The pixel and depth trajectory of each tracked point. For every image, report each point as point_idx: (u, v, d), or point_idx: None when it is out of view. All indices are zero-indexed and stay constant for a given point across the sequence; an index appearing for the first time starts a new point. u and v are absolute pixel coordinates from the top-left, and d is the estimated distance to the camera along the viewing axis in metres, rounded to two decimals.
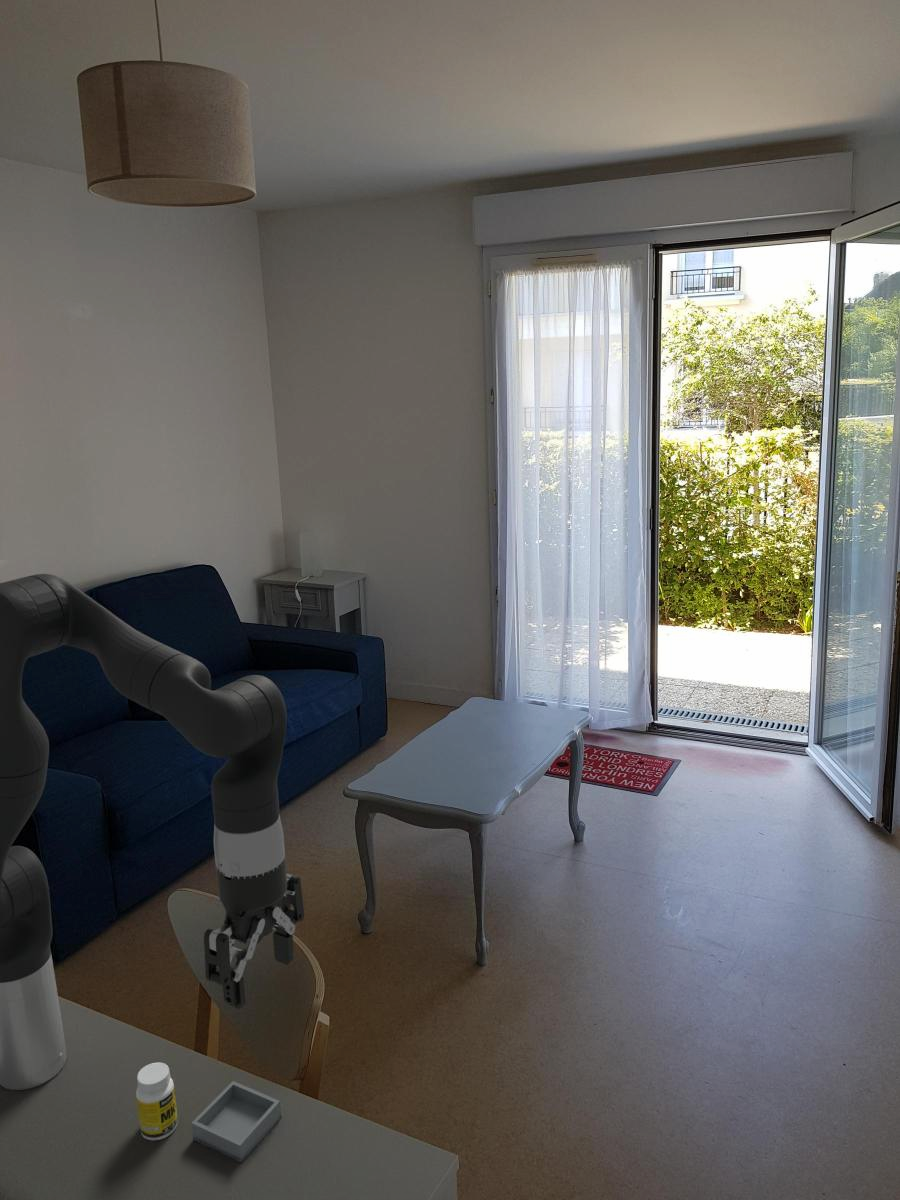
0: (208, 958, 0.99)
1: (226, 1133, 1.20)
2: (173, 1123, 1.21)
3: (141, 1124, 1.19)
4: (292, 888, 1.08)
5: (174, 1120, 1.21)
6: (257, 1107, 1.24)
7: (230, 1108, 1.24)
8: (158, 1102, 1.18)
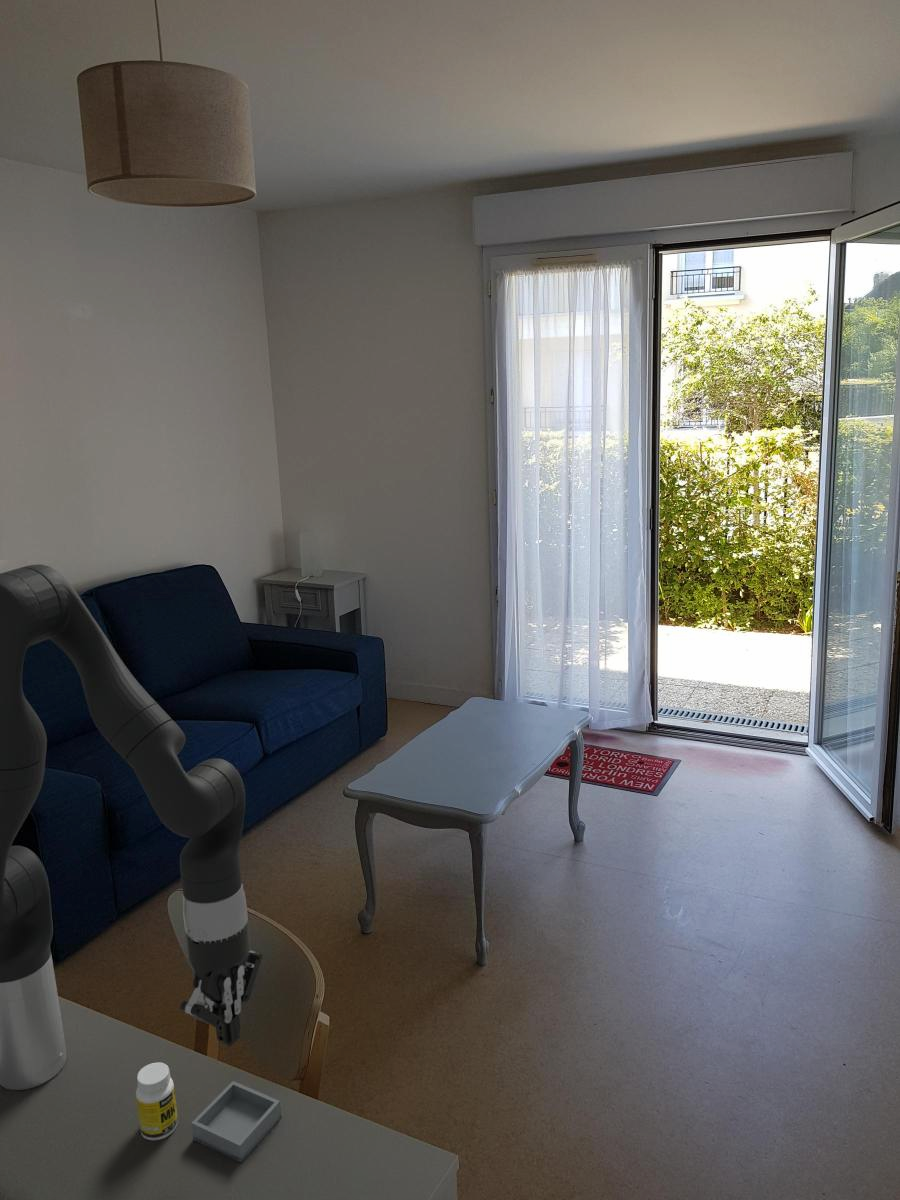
0: (194, 1017, 1.13)
1: (226, 1133, 1.20)
2: (173, 1123, 1.21)
3: (141, 1124, 1.19)
4: (253, 961, 1.19)
5: (174, 1120, 1.21)
6: (257, 1107, 1.24)
7: (230, 1108, 1.24)
8: (158, 1102, 1.18)
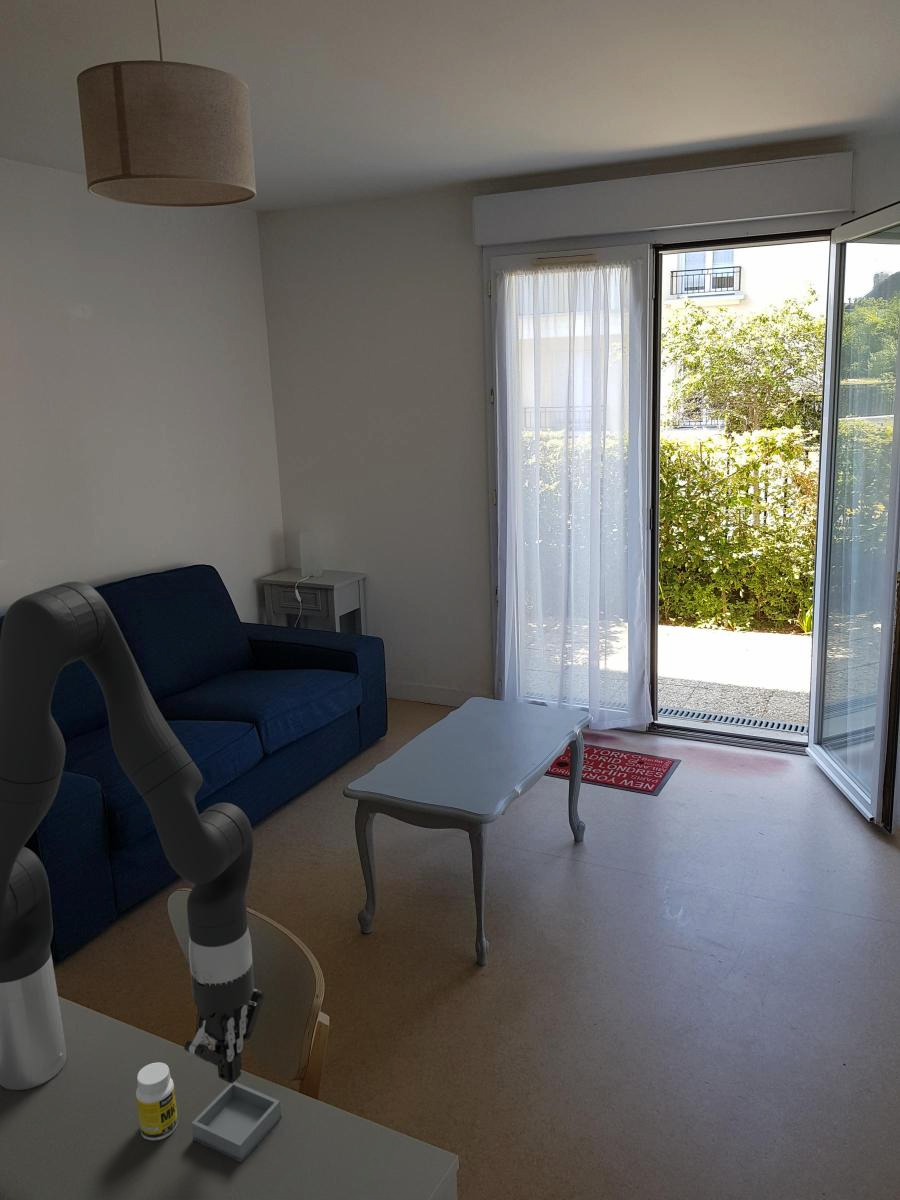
0: (197, 1056, 1.14)
1: (226, 1133, 1.20)
2: (173, 1123, 1.21)
3: (141, 1124, 1.19)
4: (256, 1000, 1.21)
5: (174, 1120, 1.21)
6: (257, 1107, 1.24)
7: (230, 1108, 1.24)
8: (158, 1102, 1.18)
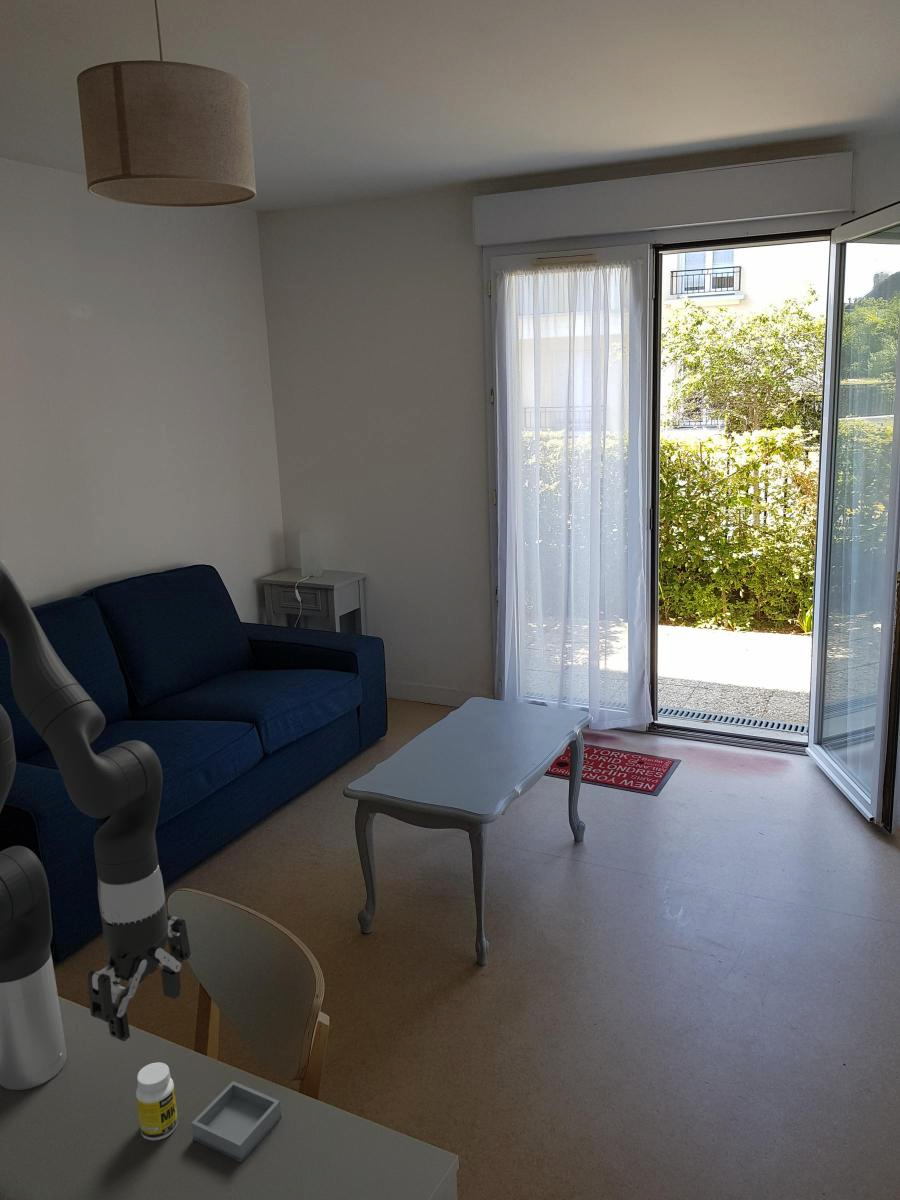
0: (92, 996, 1.10)
1: (226, 1133, 1.20)
2: (173, 1123, 1.21)
3: (141, 1124, 1.19)
4: (177, 930, 1.19)
5: (174, 1120, 1.21)
6: (257, 1107, 1.24)
7: (230, 1108, 1.24)
8: (158, 1102, 1.18)
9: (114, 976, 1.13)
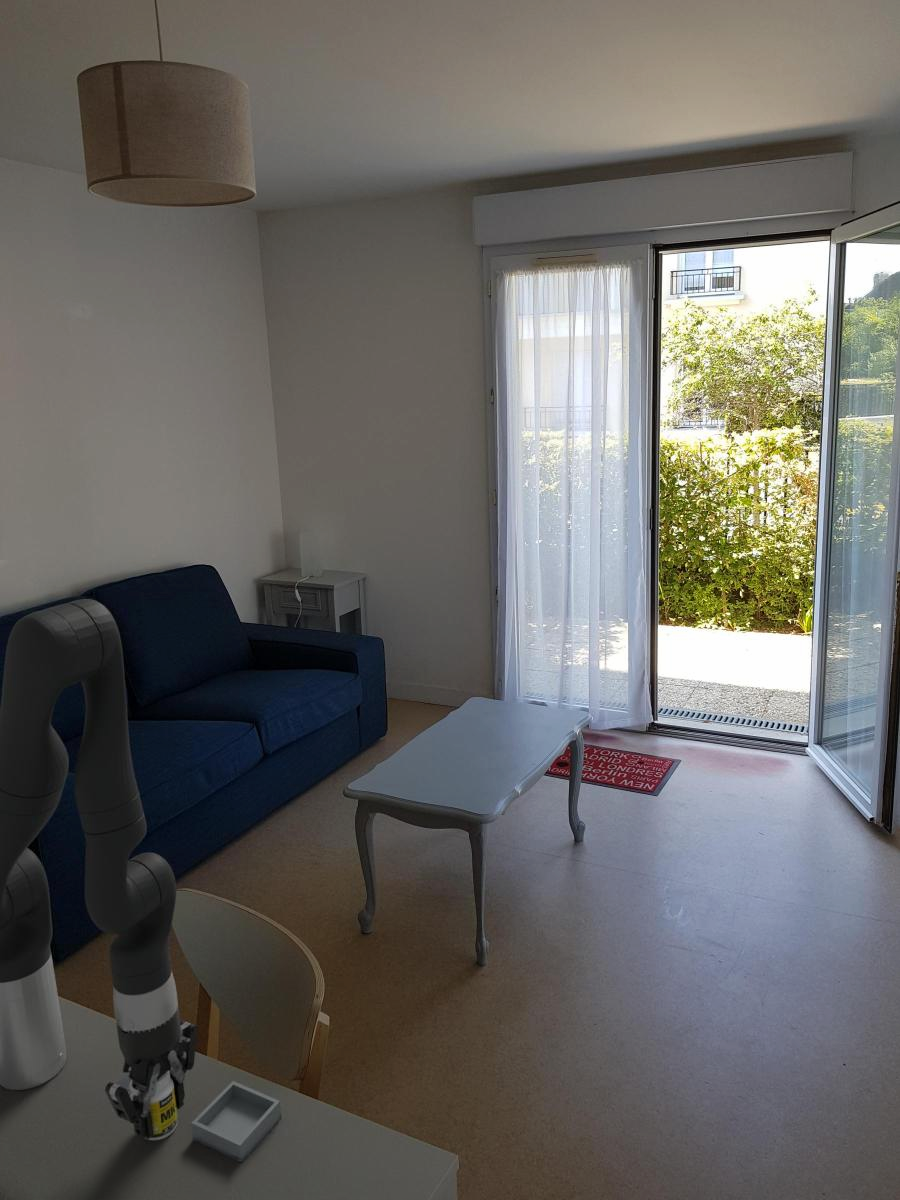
0: (114, 1105, 1.14)
1: (226, 1133, 1.20)
2: (173, 1123, 1.21)
3: None
4: (188, 1035, 1.23)
5: (174, 1120, 1.21)
6: (257, 1107, 1.24)
7: (230, 1108, 1.24)
8: (158, 1102, 1.18)
9: (132, 1079, 1.18)
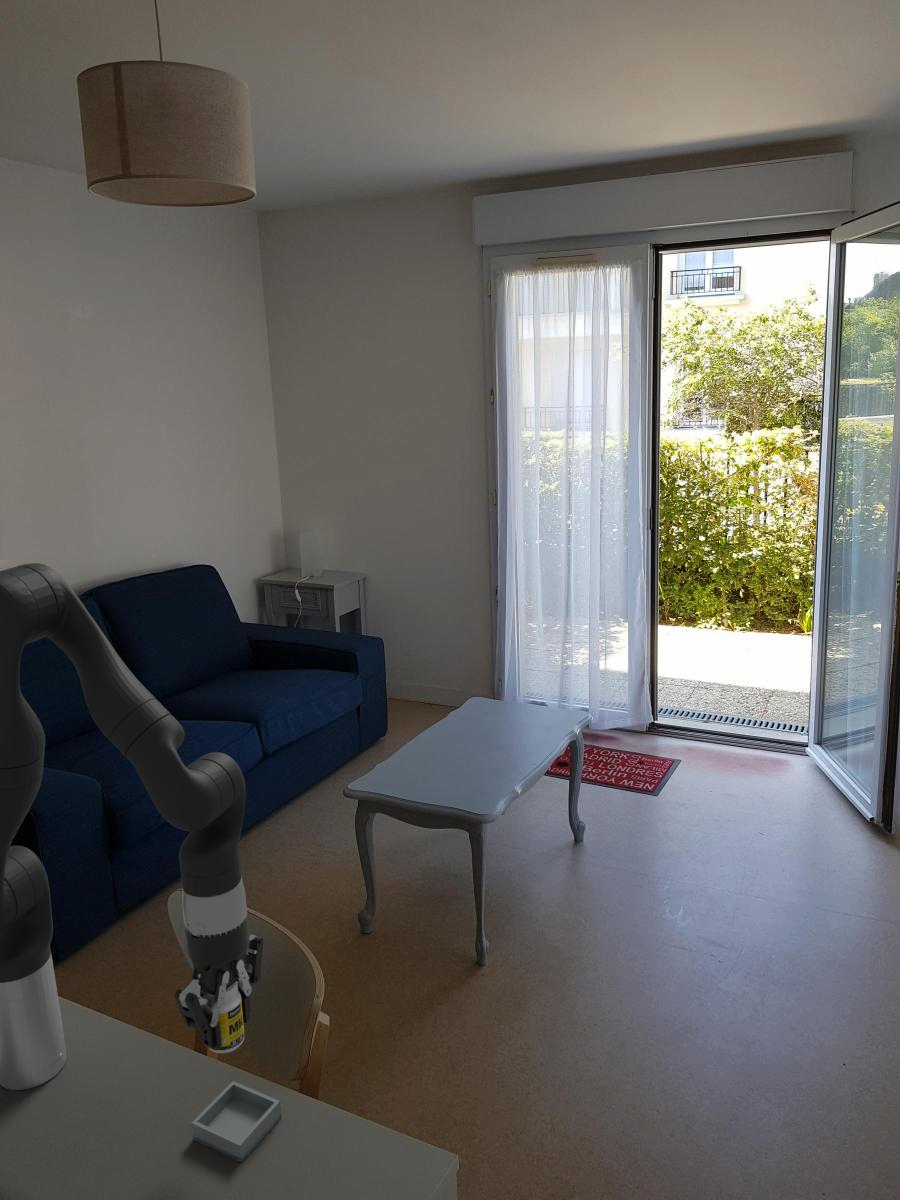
0: (183, 1012, 1.11)
1: (226, 1133, 1.20)
2: (241, 1036, 1.17)
3: None
4: (255, 947, 1.19)
5: (241, 1033, 1.17)
6: (257, 1107, 1.24)
7: (230, 1108, 1.24)
8: (227, 1012, 1.15)
9: (200, 988, 1.14)
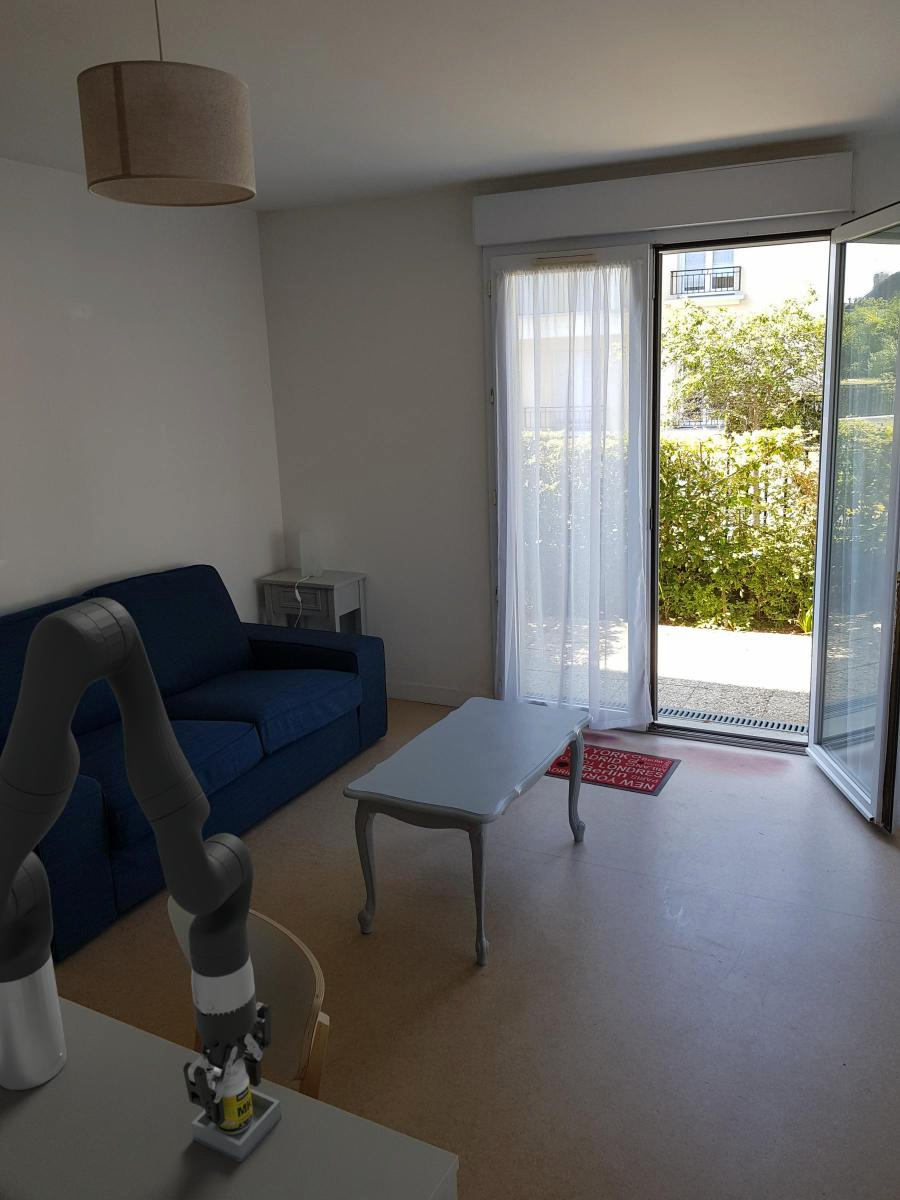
0: (189, 1087, 1.13)
1: None
2: (249, 1117, 1.20)
3: None
4: (262, 1016, 1.22)
5: (250, 1114, 1.20)
6: (257, 1107, 1.24)
7: None
8: (235, 1096, 1.18)
9: None
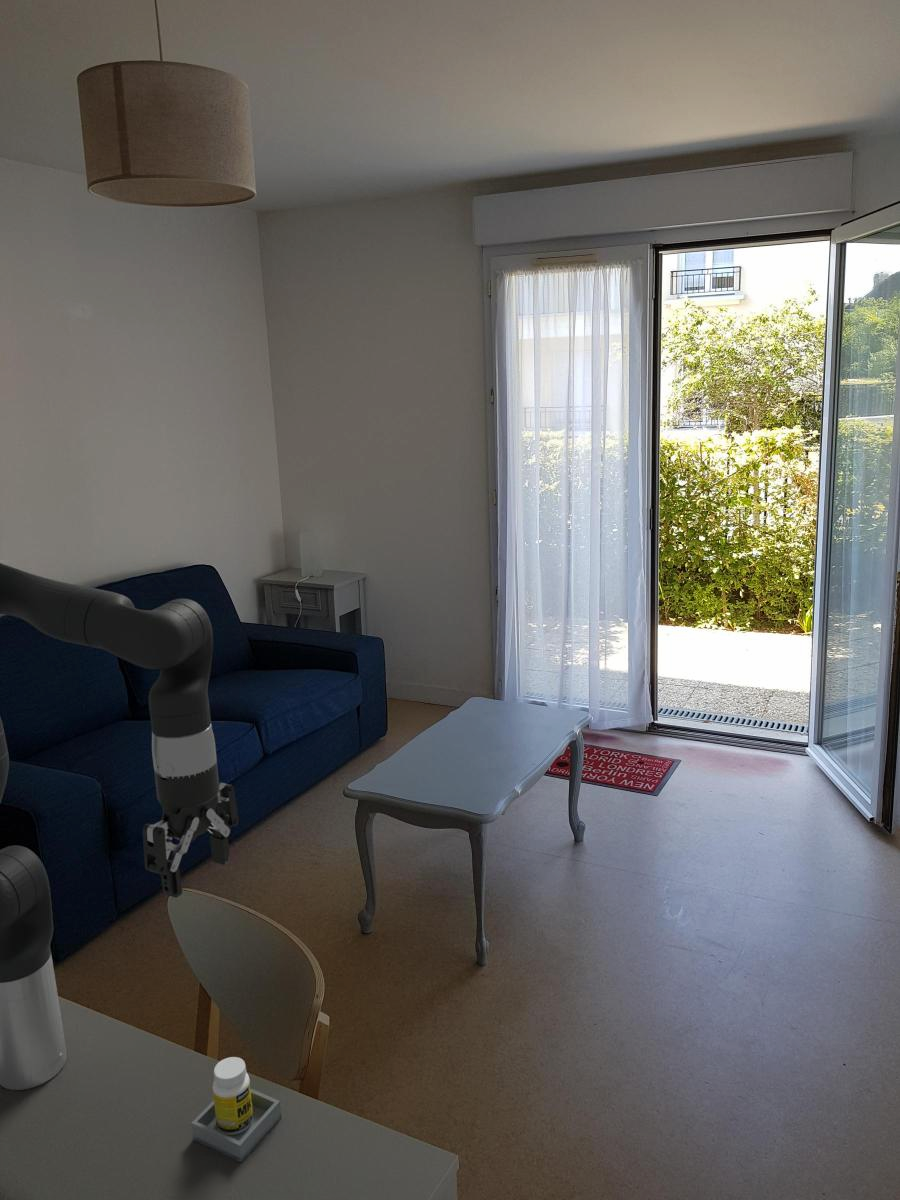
0: (146, 849, 1.11)
1: None
2: (249, 1118, 1.20)
3: (217, 1118, 1.19)
4: (226, 795, 1.21)
5: (250, 1115, 1.20)
6: (257, 1107, 1.24)
7: None
8: (235, 1096, 1.18)
9: (167, 834, 1.15)
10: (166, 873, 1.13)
